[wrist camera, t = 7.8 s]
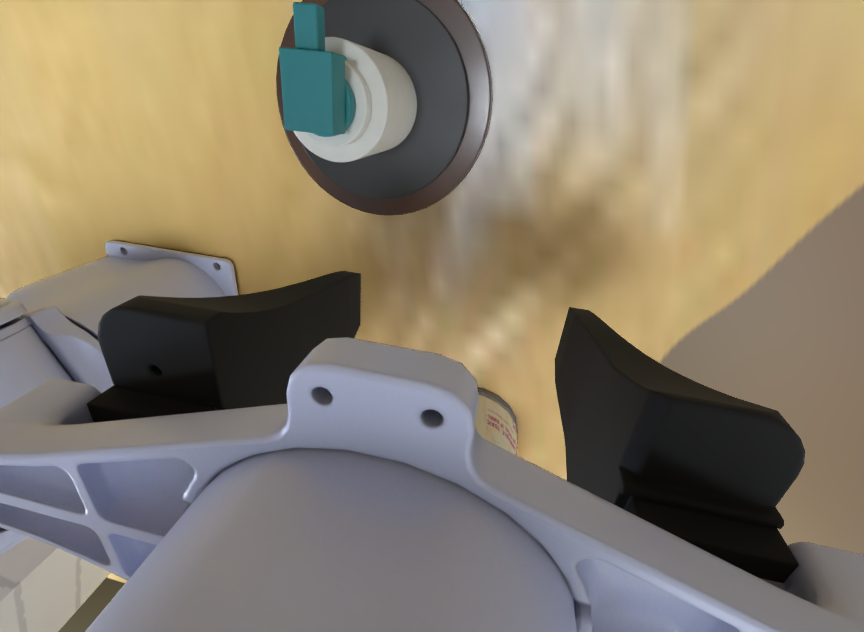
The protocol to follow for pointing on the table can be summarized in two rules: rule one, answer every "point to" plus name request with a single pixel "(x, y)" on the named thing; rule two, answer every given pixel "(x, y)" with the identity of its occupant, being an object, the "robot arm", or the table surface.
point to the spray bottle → (375, 94)
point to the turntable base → (480, 107)
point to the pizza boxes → (43, 586)
